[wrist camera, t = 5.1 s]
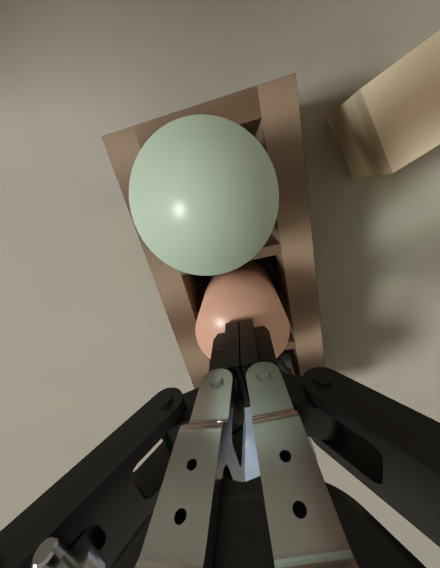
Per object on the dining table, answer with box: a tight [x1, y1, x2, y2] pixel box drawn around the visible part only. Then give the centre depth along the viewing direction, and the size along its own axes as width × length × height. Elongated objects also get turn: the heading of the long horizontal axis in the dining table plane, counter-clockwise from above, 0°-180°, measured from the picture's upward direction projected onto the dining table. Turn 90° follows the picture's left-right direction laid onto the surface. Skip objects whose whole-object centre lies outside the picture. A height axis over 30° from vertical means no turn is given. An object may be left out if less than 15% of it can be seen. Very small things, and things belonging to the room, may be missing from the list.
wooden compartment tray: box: [102, 73, 325, 389], centre depth 17 cm, size 23×10×5 cm, turn 14°
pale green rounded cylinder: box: [129, 114, 279, 276], centre depth 11 cm, size 5×5×6 cm
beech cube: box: [326, 30, 440, 179], centre depth 13 cm, size 4×4×4 cm
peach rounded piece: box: [195, 261, 290, 359], centre depth 15 cm, size 5×5×6 cm
